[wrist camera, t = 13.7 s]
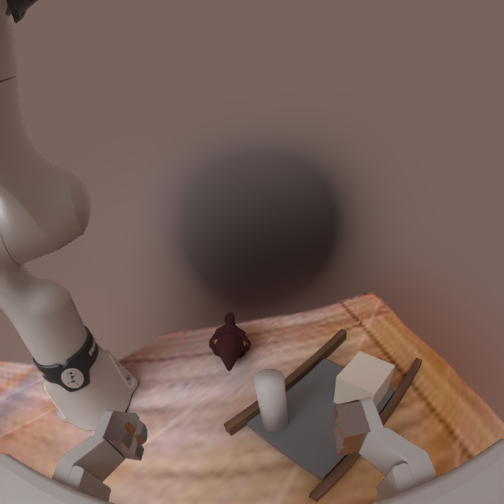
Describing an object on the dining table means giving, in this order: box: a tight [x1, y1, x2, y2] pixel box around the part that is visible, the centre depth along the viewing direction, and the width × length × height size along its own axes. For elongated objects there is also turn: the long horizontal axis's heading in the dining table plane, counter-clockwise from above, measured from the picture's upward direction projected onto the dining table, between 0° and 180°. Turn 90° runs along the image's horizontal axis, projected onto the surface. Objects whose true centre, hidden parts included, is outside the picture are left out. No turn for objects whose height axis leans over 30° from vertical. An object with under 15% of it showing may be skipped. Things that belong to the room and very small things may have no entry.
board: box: [247, 359, 394, 480], centre depth 31 cm, size 14×18×11 cm
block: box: [334, 351, 395, 407], centre depth 32 cm, size 6×6×6 cm
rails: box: [224, 329, 422, 502], centre depth 34 cm, size 17×28×2 cm, turn 132°
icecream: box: [209, 312, 250, 371], centre depth 48 cm, size 7×7×15 cm
